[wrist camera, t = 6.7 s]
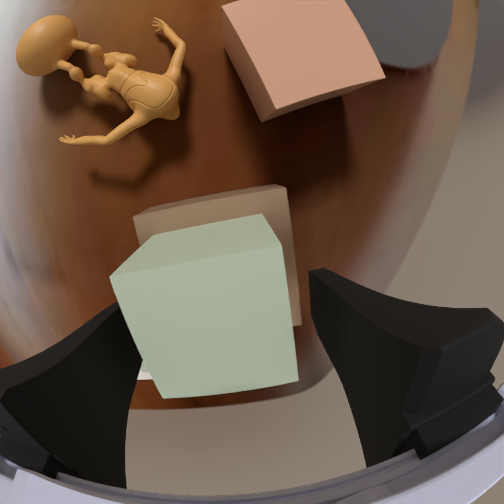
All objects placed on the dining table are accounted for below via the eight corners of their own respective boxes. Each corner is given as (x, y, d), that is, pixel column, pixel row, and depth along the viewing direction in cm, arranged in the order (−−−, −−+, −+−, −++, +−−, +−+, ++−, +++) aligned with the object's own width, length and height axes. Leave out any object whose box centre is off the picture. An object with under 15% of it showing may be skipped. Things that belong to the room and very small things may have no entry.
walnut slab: (290, 299, 17) (301, 324, 14) (180, 316, 17) (171, 344, 14) (275, 183, 15) (286, 187, 12) (151, 207, 14) (132, 216, 12)
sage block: (262, 213, 12) (281, 244, 7) (277, 312, 14) (298, 380, 9) (153, 235, 12) (109, 276, 7) (181, 328, 13) (162, 398, 9)
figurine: (-2, 99, 9) (130, 177, 16) (-43, 84, 4) (135, 190, 11) (75, 0, 8) (203, 76, 15) (69, -46, 4) (241, 50, 10)
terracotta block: (341, 95, 13) (385, 77, 8) (261, 122, 13) (275, 109, 9) (305, 24, 11) (332, -16, 7) (223, 47, 12) (221, 5, 7)
